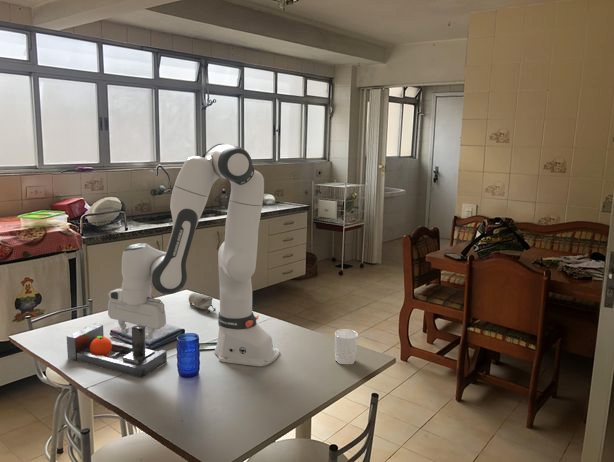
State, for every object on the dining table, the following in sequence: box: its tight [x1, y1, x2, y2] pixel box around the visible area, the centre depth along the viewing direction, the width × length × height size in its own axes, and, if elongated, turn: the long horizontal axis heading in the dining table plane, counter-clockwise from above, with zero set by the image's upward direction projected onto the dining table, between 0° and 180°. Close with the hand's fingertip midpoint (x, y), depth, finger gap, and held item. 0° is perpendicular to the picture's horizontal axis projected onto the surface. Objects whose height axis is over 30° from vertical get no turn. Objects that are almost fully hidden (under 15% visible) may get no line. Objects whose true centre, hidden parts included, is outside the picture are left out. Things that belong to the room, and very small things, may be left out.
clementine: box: [90, 336, 112, 357], centre depth 168 cm, size 8×7×7 cm
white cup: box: [334, 328, 359, 365], centre depth 171 cm, size 8×8×10 cm
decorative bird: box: [188, 292, 216, 315], centre depth 215 cm, size 5×16×7 cm, turn 48°
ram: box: [122, 324, 156, 365], centre depth 162 cm, size 6×8×13 cm
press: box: [66, 323, 168, 379], centre depth 166 cm, size 30×12×8 cm, turn 68°
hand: (136, 336), depth 161 cm, fingers open, 8 cm apart
